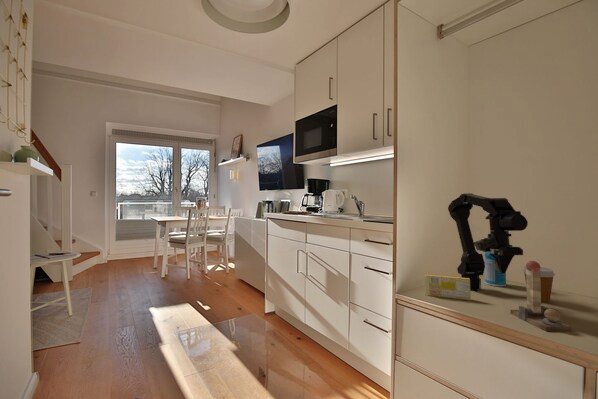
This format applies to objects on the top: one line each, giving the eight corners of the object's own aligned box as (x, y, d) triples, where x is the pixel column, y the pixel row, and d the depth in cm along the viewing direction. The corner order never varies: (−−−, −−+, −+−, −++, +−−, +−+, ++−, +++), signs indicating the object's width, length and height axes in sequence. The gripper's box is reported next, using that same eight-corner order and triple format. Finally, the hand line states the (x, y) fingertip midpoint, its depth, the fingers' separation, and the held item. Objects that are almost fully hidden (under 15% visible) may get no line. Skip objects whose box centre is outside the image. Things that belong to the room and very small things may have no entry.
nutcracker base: (510, 313, 98) (509, 296, 98) (533, 313, 98) (532, 296, 98) (545, 331, 84) (545, 312, 84) (572, 330, 84) (572, 311, 84)
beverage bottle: (482, 284, 132) (481, 240, 132) (487, 280, 138) (486, 239, 138) (504, 288, 126) (503, 242, 126) (508, 284, 132) (508, 240, 132)
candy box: (470, 299, 113) (469, 277, 113) (470, 300, 111) (470, 279, 111) (425, 293, 120) (424, 273, 120) (425, 295, 118) (424, 275, 118)
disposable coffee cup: (561, 305, 105) (561, 272, 105) (532, 303, 107) (531, 271, 107) (545, 296, 114) (544, 266, 114) (518, 295, 116) (517, 265, 116)
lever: (522, 312, 94) (521, 259, 95) (535, 312, 95) (535, 259, 95) (531, 317, 91) (531, 262, 91) (545, 316, 91) (544, 262, 91)
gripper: (466, 231, 119) (469, 269, 117) (485, 231, 101) (489, 276, 99) (497, 230, 117) (500, 270, 115) (521, 230, 98) (526, 277, 97)
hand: (502, 273), depth 106 cm, fingers closed
